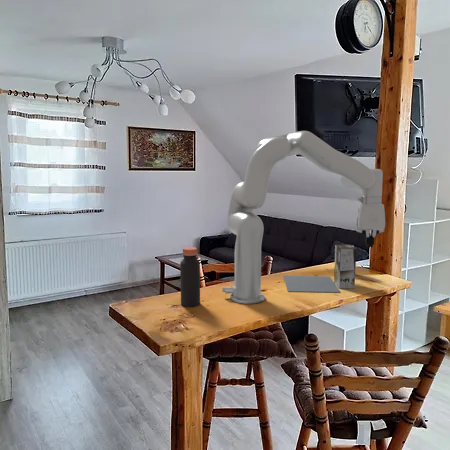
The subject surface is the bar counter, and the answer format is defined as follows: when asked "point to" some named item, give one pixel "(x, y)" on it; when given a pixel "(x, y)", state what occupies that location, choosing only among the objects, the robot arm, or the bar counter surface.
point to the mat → (310, 284)
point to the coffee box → (345, 266)
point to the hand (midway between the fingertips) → (369, 246)
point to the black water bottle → (190, 278)
